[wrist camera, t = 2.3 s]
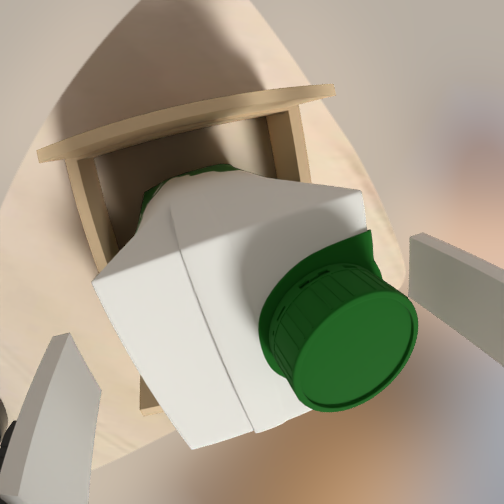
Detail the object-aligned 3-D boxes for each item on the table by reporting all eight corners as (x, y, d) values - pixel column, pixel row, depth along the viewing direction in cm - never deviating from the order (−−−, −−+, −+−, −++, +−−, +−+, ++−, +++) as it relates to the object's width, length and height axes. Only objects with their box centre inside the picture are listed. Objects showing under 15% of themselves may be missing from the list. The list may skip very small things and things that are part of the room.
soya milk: (264, 249, 28) (417, 411, 10) (164, 284, 27) (187, 506, 8) (237, 149, 25) (425, 171, 7) (128, 185, 24) (28, 305, 5)
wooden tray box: (137, 324, 27) (131, 418, 17) (82, 151, 22) (22, 156, 11) (301, 278, 30) (368, 344, 20) (273, 105, 24) (347, 83, 14)
